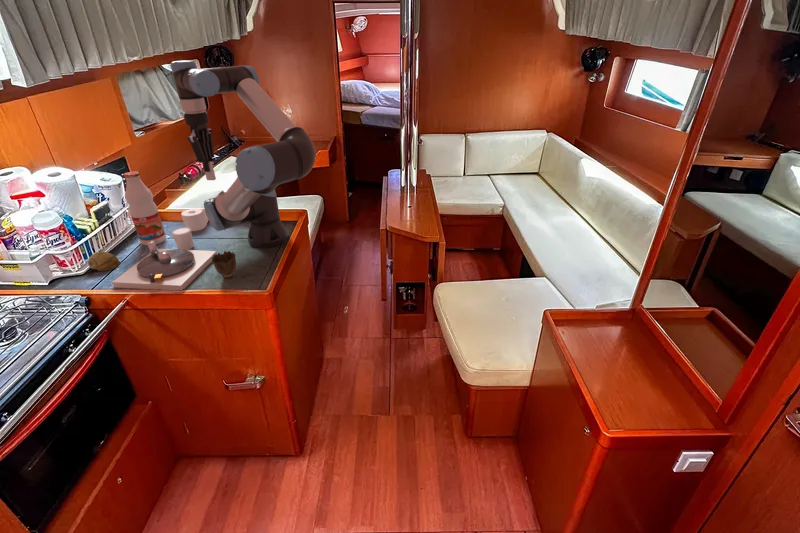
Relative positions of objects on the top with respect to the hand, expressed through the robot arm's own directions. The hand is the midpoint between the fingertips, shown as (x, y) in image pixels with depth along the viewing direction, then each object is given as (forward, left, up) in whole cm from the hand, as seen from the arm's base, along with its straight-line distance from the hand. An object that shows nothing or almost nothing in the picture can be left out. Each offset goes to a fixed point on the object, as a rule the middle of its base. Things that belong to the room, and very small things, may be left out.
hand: (211, 179), depth 154 cm
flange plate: (+11, +23, -24) cm, 35 cm away
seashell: (+36, +21, -27) cm, 49 cm away
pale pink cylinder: (+15, +4, -27) cm, 31 cm away
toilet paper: (+20, -16, -27) cm, 37 cm away
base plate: (+11, +22, -26) cm, 36 cm away
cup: (-12, +24, -27) cm, 38 cm away
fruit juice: (+31, 0, -27) cm, 41 cm away
